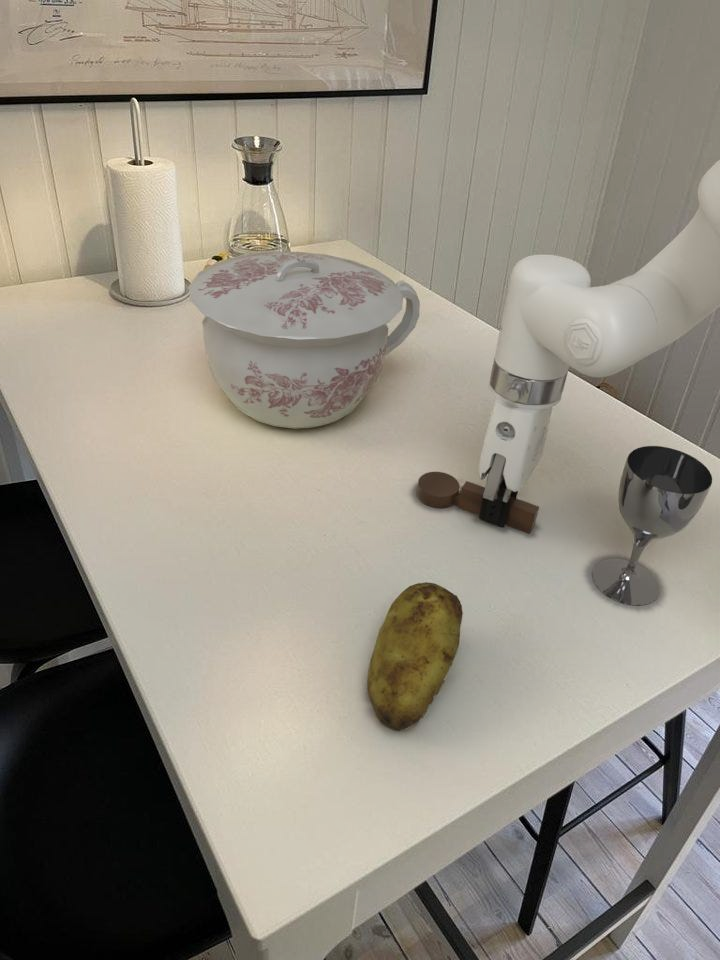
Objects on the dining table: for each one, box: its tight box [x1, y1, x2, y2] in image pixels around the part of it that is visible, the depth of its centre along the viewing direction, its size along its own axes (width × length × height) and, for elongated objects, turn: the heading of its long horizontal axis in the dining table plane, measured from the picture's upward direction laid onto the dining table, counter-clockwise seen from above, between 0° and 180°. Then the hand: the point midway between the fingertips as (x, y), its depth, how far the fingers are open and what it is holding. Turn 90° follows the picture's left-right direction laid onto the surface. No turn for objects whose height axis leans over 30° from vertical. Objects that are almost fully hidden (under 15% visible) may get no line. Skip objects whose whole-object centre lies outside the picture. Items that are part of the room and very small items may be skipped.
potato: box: [366, 581, 464, 732], centre depth 66 cm, size 8×13×8 cm, turn 142°
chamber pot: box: [188, 251, 421, 429], centre depth 100 cm, size 28×28×21 cm
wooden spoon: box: [416, 471, 540, 534], centre depth 89 cm, size 14×5×3 cm, turn 62°
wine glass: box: [591, 445, 713, 606], centre depth 77 cm, size 8×8×15 cm
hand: (495, 515), depth 88 cm, fingers closed on wooden spoon
